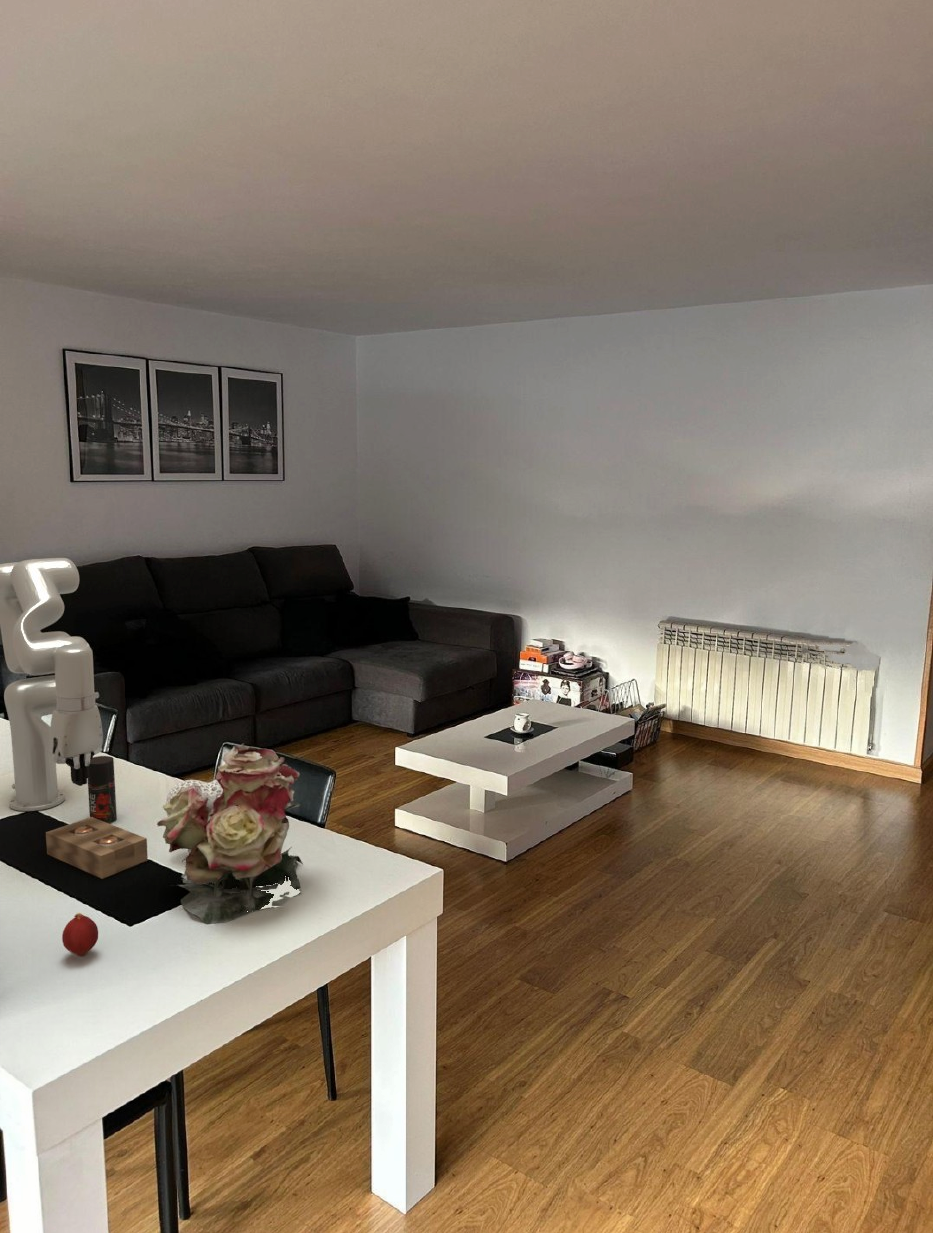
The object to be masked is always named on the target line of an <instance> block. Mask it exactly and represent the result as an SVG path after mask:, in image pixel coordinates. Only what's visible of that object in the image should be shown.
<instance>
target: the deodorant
mask: <svg viewBox="0 0 933 1233" xmlns="http://www.w3.org/2000/svg"><path fill="white" fill-rule="evenodd" d="M114 760H115V759H114V757H112V756H110V755H100V756H93V758H92V759H91V760H90V764H89V766H87V769H88V778H87V791H88V792H87V793H88V809H89V817H93V818H96V819H98V820H101V821H103V822H106V823H109V824H112V823H114V822H116V821H117V819H118V818H117V817H118V816H117V801H116V795H117V794H116V783H115V782H116V780H115V779H116V778H115V761H114Z"/></svg>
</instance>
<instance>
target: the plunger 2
mask: <svg viewBox="0 0 933 1233" xmlns="http://www.w3.org/2000/svg"><path fill="white" fill-rule="evenodd" d="M117 842H118V839H117V837H114V836H108V837H104V838H102V839H100V842H99V843H100V845H102V846H104V847H106V846H109V845H112V844H114V843H117Z"/></svg>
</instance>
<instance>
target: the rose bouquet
mask: <svg viewBox="0 0 933 1233" xmlns="http://www.w3.org/2000/svg"><path fill="white" fill-rule="evenodd" d="M222 761H223V762H224V763H225V764H223V765H219V766H217V768H218V769H217V770H218V772H216V773H217V774H216V775H215V780H217V781H218V783H219V784H220V785H221V787H222V789H223V792H222V794H221V796H220V795H219V796H220V797H219V796H217V797H214V796H209V795H206V794H204V793H203V792H201V789H200V787H199V785H198V783H195V784H193V785H192V786H189V787H185V788H181V789H180V791H179V792H178V793H177V795H176V794H175V795H176V796H174V797H173V798H172V799H171V800H170V803H167V804H166V803H165V804H163V806H162V809H163V810H164V811H165V812H166V814H167V813H168V814H169V817H168V816H167V817H165V818H162V819H161V820H159V821H157V822H156V823H157V824H156V825H157V827H165V829H164V832H163V834H162V838H163V839H164V842H165V844H168V845H169V848H168V849H169V850H168V853H173V852H175V851H177V850H184V849H185V850H188V849H190V850H191V852H190V854H189V855H188V854H187V856H186V857H185V858H184V859H183V860H182V861H181V863H183V862H184V861H185V865H184V867H185V869H184V872H183V873H182V875H181V876H180V877H181V880H182V884H177V886H179V887H181V888H184V889H185V890H187V891H188V894H186V895H185V896H184V897H182V898H181V899H180V904H181V906H182V908H183V909H185V910H187V911H188V912H189V914H190V913H191V914H193V915H195V916H197V917H199V919H200V920H201V921H202V922H203V923H205V924H206V925H212V924H216V923H217V924H219V923H225V922H229V921H233V920H235V919H238V918H240V917H243V916H246V915H248V914H251V913H253V912H257V911H261V910H260V909H261V908H262V907H264V906H265V905H268V904H269V903H270V902H269V901H270V899H271V898H273V896H274V894H271V893H266V891H261V890H257V889H258V888H257V887H256V886H265V887H267V886H266V885H273V884H275V883H278V884H280V885H282V884H283V883H284V881H285V876H286V878H287V877H289V880H290V881H291V885H290V886H292V887H293V888H294V889H296V890H297V889H300V890H301V881H300V880H299V878H298V874H297V871H296V863H299V864H301V865H304V862H303V861H302V859H301V858H300V856H299V855H290V854H289V852H290V850H291V849H292V848H293V846H290V847H289V848H288V849H287V850H285V851H283V852H282V850H283V846H284V842H285V840H286V838H287V836H288V831H289V829H290V821H289V819H288V818H287V814H286V813H285V812H286V811H287V810H290V809H294V808H298V807H300V806H301V805H302V804H303V802H302V803H294V804H292V803H291V802H293V801H294V799H293V798H294V797H296V795H294V793H295V790H293V789H292V787H291V785H292V784H295V781H298V780H300V781H301V779H302V778H300V772H299V771H297V770H296V769H293V768H292V767H291V766H289V765H288V764H287V763H284V761H285V757H284V756H283V757H282V756H280V757H279V756H278V755H277V754H276V752H275V751H274V750H273V749H269V748H268V749H267V748H257V747H250V746H245V745H244V743H242V744H241V745H236V746H232V749H231V750H230V751H229V752H227V753H224V754H223V756H222ZM220 785H219V786H220ZM172 886H174V885H171V887H172ZM218 886H219V887H221V889H222V890H219V889H218ZM255 887H256V888H255ZM223 890H224V891H223ZM225 890H226V891H225ZM227 890H229V891H232V890H233V891H234V890H240V891H237V892H235V891H234V892H228V891H227ZM267 892H269V891H267ZM247 911H248V912H247ZM252 911H253V912H252ZM250 912H251V913H250Z"/></svg>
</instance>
